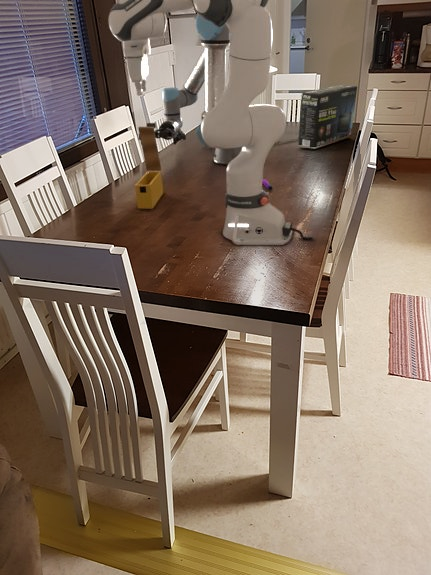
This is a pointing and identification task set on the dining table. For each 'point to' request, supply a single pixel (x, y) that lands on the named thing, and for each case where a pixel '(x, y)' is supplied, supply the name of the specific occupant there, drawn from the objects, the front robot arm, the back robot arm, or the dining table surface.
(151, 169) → the lid
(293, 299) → the dining table surface
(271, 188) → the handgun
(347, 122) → the router box
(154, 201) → the chest
